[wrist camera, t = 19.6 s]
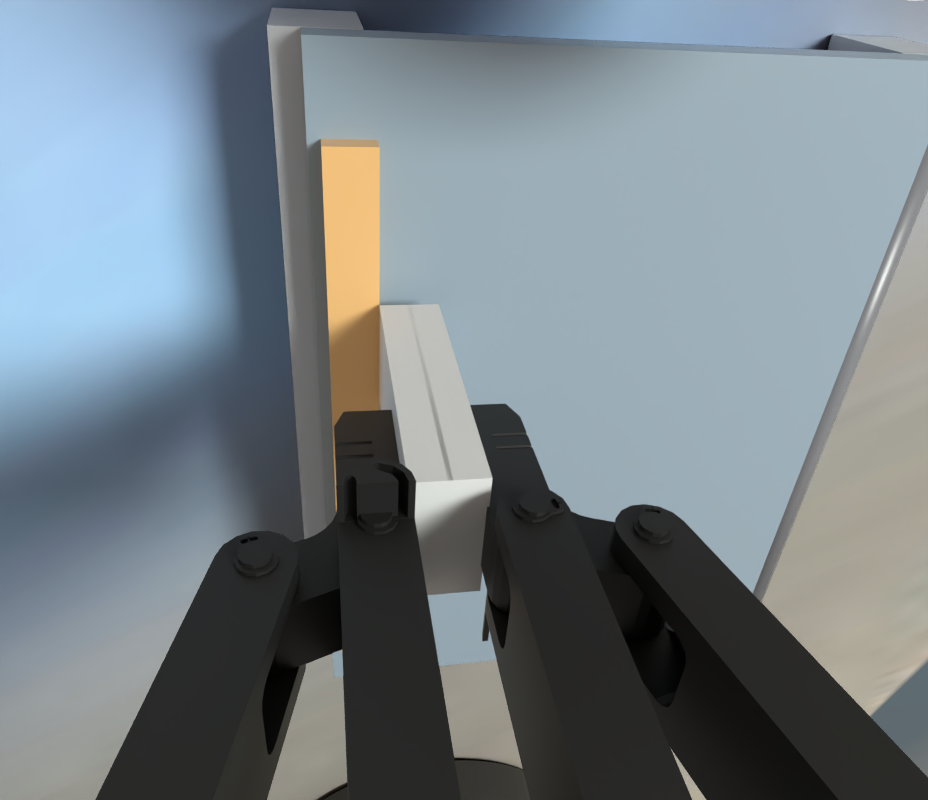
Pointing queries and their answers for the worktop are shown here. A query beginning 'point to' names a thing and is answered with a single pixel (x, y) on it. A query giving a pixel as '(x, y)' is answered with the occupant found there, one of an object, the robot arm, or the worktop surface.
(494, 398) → the door
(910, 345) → the worktop surface
